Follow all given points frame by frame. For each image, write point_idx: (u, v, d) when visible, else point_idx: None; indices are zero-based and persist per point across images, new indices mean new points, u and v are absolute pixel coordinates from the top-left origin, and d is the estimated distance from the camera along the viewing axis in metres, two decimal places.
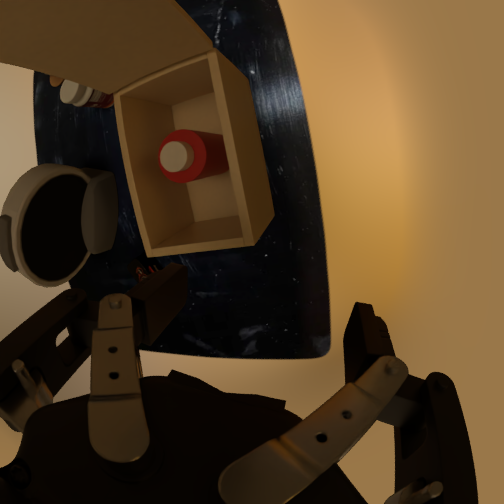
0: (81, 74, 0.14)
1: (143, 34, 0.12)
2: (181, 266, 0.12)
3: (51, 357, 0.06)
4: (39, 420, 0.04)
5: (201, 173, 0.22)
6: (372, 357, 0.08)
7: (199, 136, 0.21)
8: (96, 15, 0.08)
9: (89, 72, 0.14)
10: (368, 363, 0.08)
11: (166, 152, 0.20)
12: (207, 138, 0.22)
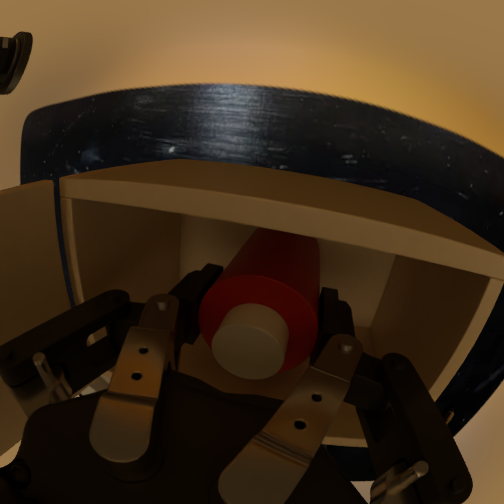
0: None
1: None
2: (219, 266, 0.13)
3: (79, 355, 0.07)
4: (39, 420, 0.04)
5: (313, 306, 0.10)
6: (329, 335, 0.09)
7: (229, 277, 0.10)
8: None
9: None
10: (325, 341, 0.09)
11: (231, 361, 0.09)
12: (243, 260, 0.11)
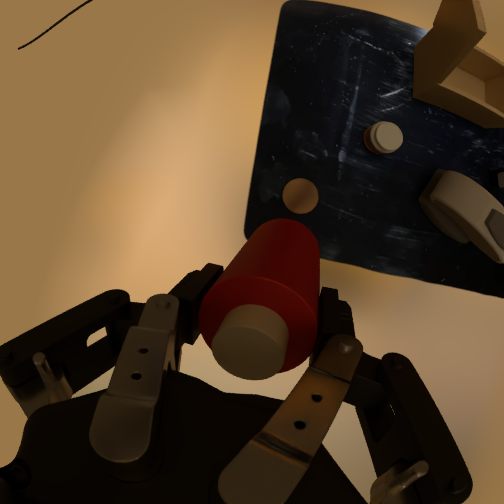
0: None
1: None
2: (219, 266, 0.13)
3: (79, 355, 0.07)
4: (39, 420, 0.04)
5: (313, 307, 0.10)
6: (329, 335, 0.09)
7: (229, 278, 0.10)
8: None
9: None
10: (325, 341, 0.09)
11: (231, 362, 0.09)
12: (243, 261, 0.11)
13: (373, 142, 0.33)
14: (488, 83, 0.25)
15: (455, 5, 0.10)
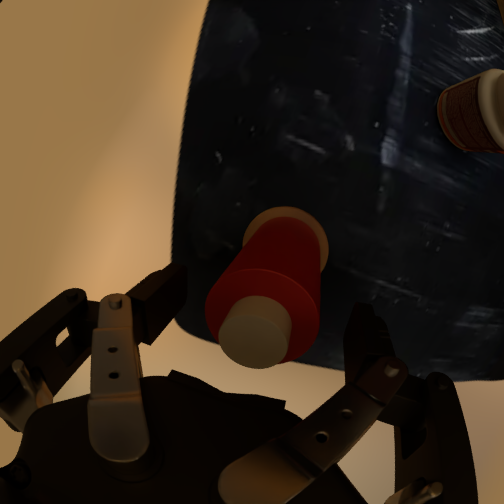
0: None
1: None
2: (181, 266, 0.12)
3: (51, 357, 0.06)
4: (39, 420, 0.04)
5: (314, 298, 0.10)
6: (372, 357, 0.08)
7: (235, 271, 0.10)
8: None
9: None
10: (368, 363, 0.08)
11: (237, 351, 0.10)
12: (248, 256, 0.12)
13: (490, 119, 0.08)
14: None
15: None
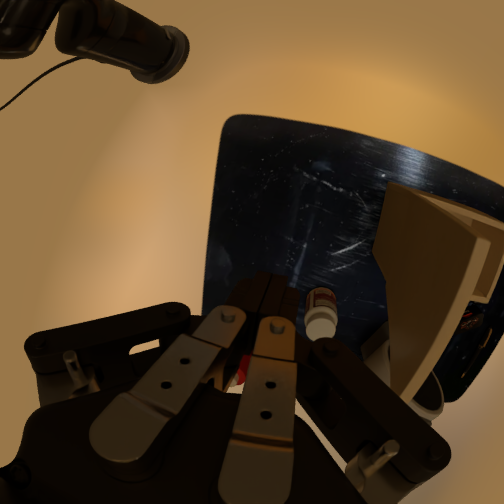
0: None
1: None
2: (270, 274, 0.12)
3: (118, 362, 0.07)
4: (39, 420, 0.04)
5: (244, 371, 0.39)
6: (265, 317, 0.10)
7: None
8: None
9: None
10: None
11: None
12: None
13: None
14: (477, 220, 0.29)
15: (423, 284, 0.14)
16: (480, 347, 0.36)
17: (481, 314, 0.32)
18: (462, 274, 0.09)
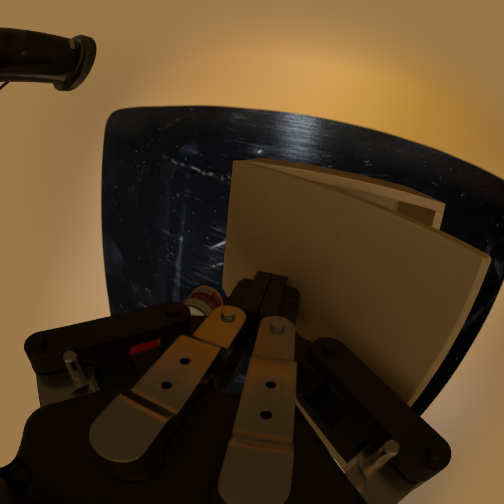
0: None
1: None
2: (270, 274, 0.12)
3: (118, 362, 0.07)
4: (39, 420, 0.04)
5: None
6: (265, 317, 0.10)
7: None
8: None
9: None
10: None
11: None
12: None
13: None
14: None
15: (324, 311, 0.10)
16: None
17: None
18: (451, 319, 0.05)
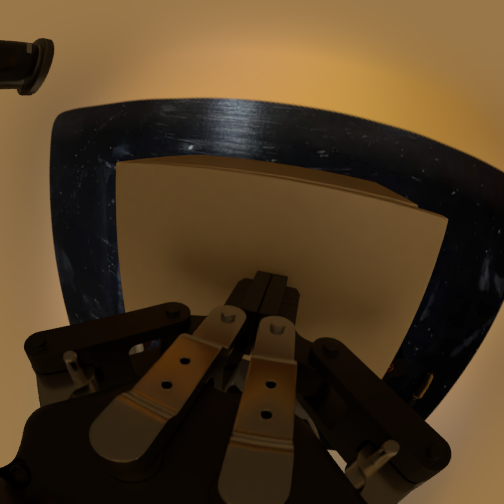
0: None
1: None
2: (270, 274, 0.12)
3: (118, 362, 0.07)
4: (39, 420, 0.04)
5: None
6: (265, 317, 0.10)
7: None
8: None
9: None
10: None
11: None
12: None
13: None
14: None
15: (324, 286, 0.12)
16: (414, 397, 0.27)
17: (400, 359, 0.23)
18: (434, 255, 0.10)
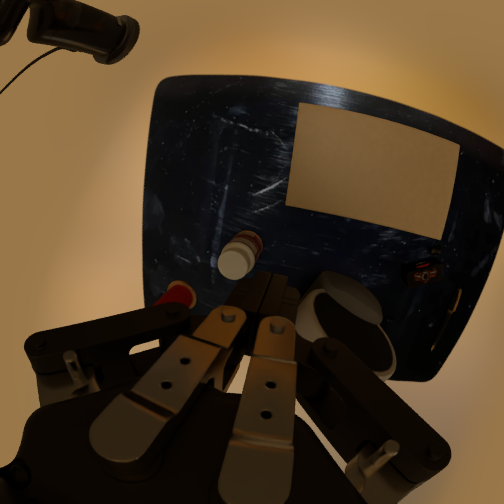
0: None
1: None
2: (270, 274, 0.12)
3: (118, 362, 0.07)
4: (39, 420, 0.04)
5: None
6: (265, 317, 0.10)
7: None
8: None
9: None
10: None
11: None
12: (156, 303, 0.41)
13: None
14: None
15: (414, 172, 0.22)
16: (449, 312, 0.37)
17: (440, 265, 0.33)
18: (456, 160, 0.20)
